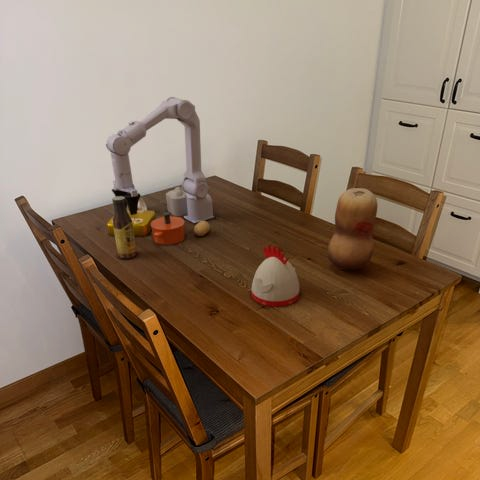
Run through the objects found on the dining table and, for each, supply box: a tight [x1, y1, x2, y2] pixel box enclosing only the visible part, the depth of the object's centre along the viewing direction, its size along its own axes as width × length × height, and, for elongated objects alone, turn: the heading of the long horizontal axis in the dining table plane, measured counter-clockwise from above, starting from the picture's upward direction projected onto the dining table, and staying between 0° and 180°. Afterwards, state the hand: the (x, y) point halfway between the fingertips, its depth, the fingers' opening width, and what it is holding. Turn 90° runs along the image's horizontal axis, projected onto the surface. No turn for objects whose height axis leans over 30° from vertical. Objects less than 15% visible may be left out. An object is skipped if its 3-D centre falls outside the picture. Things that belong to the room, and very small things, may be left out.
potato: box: [193, 220, 211, 237], centre depth 172 cm, size 7×5×5 cm, turn 157°
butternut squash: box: [327, 187, 378, 272], centre depth 142 cm, size 14×13×25 cm
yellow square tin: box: [106, 209, 156, 237], centre depth 179 cm, size 15×15×5 cm
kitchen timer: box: [250, 243, 300, 307], centre depth 133 cm, size 14×14×15 cm
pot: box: [151, 224, 186, 246], centre depth 170 cm, size 11×17×5 cm
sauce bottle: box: [111, 196, 137, 259], centre depth 155 cm, size 7×6×20 cm
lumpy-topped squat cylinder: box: [165, 186, 188, 217], centre depth 192 cm, size 10×13×9 cm
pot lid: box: [151, 212, 186, 231], centre depth 168 cm, size 12×12×4 cm
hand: (128, 211), depth 167 cm, fingers open, 7 cm apart
